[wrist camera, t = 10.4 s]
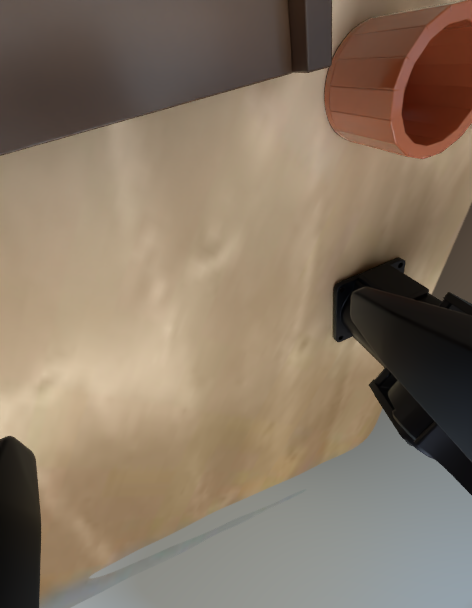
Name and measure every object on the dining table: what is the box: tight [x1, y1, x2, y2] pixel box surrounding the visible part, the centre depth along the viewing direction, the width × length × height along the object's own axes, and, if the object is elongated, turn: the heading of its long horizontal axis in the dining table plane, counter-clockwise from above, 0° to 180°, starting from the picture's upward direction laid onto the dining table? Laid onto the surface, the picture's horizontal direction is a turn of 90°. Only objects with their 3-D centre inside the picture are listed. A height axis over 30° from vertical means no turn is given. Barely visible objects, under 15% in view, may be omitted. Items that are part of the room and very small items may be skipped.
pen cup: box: [324, 0, 472, 159], centre depth 16 cm, size 6×6×5 cm
